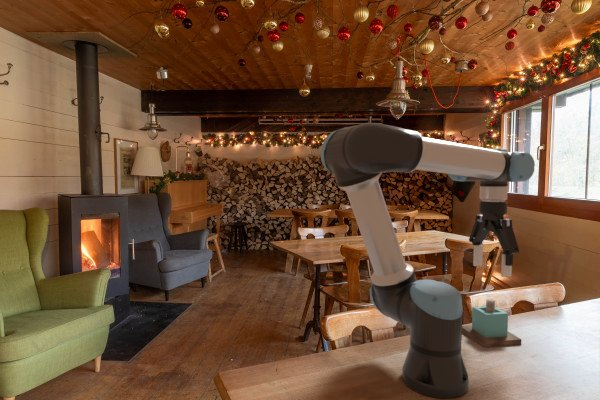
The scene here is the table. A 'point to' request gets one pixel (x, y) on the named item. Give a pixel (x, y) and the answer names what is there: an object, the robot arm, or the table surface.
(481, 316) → the teal open box
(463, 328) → the stand
